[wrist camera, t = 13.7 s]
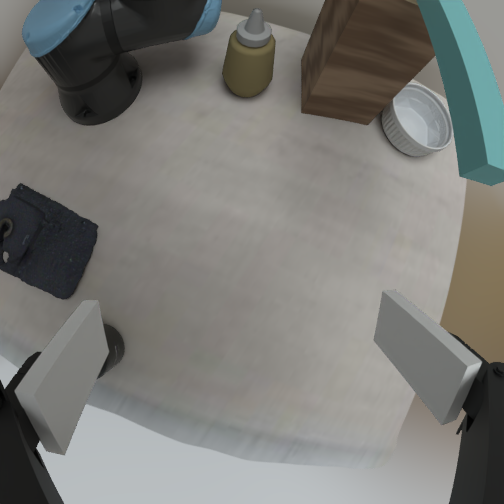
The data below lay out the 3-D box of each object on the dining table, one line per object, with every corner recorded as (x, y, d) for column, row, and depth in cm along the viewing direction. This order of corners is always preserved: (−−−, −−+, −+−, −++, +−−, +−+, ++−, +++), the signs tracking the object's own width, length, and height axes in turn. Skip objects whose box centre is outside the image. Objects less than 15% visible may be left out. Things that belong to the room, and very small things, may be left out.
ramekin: (379, 88, 51) (395, 69, 45) (435, 117, 52) (454, 103, 45) (370, 144, 50) (389, 128, 43) (430, 173, 51) (452, 162, 44)
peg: (494, 188, 18) (527, 177, 15) (449, 175, 18) (483, 159, 14) (437, -9, 20) (452, -28, 17) (397, -26, 20) (411, -48, 16)
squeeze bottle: (249, 112, 48) (263, 41, 31) (211, 86, 48) (210, 12, 30) (279, 83, 49) (302, 12, 32) (242, 59, 49) (252, -14, 31)
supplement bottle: (133, 357, 44) (107, 380, 32) (98, 371, 43) (65, 396, 31) (113, 315, 44) (80, 327, 32) (78, 331, 43) (40, 346, 31)
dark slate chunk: (71, 315, 44) (58, 318, 39) (-15, 257, 43) (-30, 255, 38) (107, 225, 46) (96, 220, 41) (15, 179, 44) (1, 171, 40)
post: (367, 125, 50) (468, 21, 21) (301, 112, 49) (370, -22, 19) (362, 72, 51) (438, -34, 22) (301, 59, 50) (353, -68, 20)
